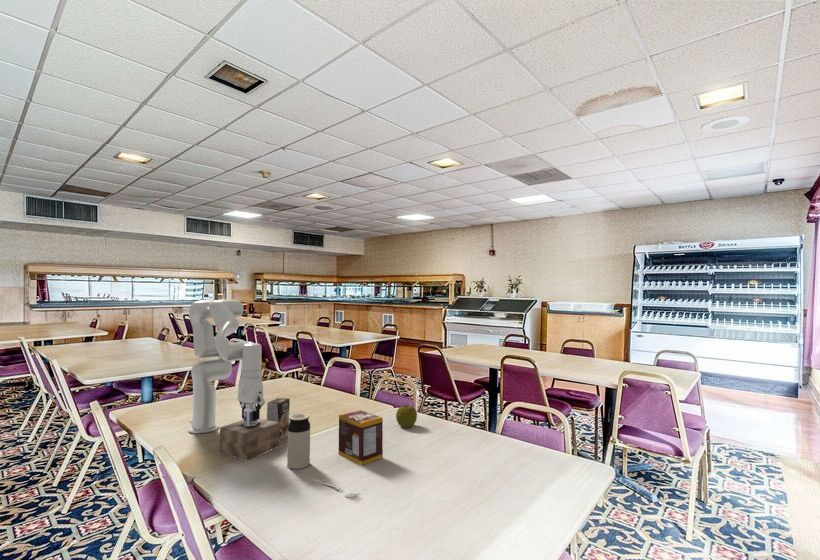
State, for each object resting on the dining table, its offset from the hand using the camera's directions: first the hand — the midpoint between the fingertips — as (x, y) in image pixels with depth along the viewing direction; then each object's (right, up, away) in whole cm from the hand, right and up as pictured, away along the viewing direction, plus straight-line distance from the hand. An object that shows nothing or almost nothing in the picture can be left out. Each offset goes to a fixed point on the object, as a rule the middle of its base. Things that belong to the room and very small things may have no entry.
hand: (250, 418), depth 166 cm
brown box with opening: (0, -13, 0) cm, 13 cm away
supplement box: (+45, -13, -7) cm, 48 cm away
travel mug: (+24, -12, -15) cm, 31 cm away
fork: (+40, -12, -33) cm, 53 cm away
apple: (+63, -14, +29) cm, 71 cm away
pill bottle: (0, -3, 0) cm, 3 cm away
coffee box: (+7, -13, +14) cm, 20 cm away
